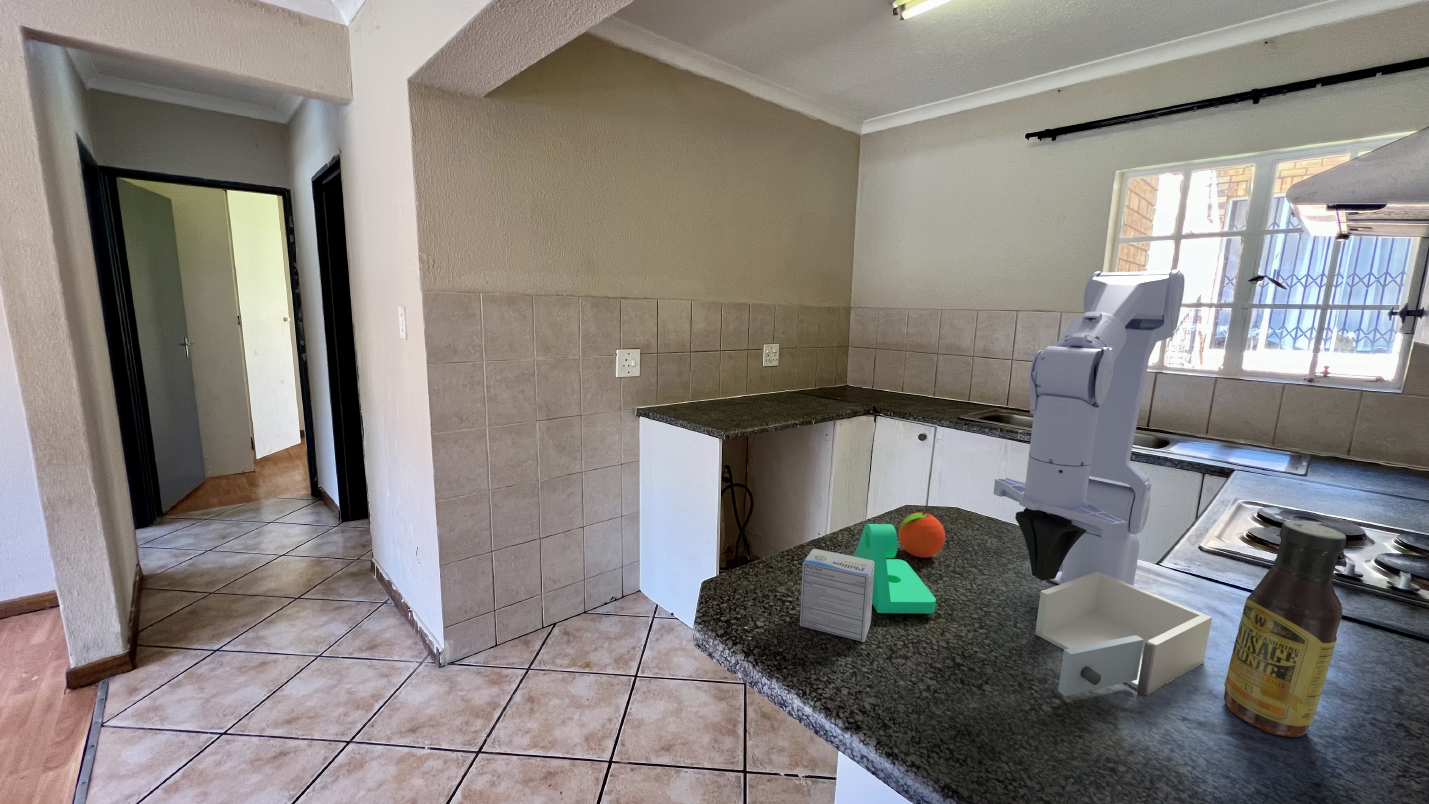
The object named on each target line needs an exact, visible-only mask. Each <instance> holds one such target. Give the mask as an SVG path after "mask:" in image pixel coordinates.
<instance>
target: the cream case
mask: <svg viewBox="0 0 1429 804" xmlns="http://www.w3.org/2000/svg"><path fill="white" fill-rule="evenodd" d="M1039 596H1040V597H1039V603H1038V608H1037V609H1038V610H1037V618H1036V624H1035V632H1034V634H1035V635H1036V636H1038V637H1040V638H1041V639H1044V640H1046V641H1047V642H1049V643H1051V644H1053V645H1054V646H1056V647H1058V648H1060V649H1062V650H1064V649H1069V648H1074V647H1079V646H1084V645H1089V644H1094V643H1099V642H1104V641H1109V640H1114V639H1119V638H1124V637H1129V636H1134V635H1137V636H1139V637H1140V638H1142V639H1144V642H1143V648H1142V654H1141V660H1140V666H1139V671H1138V677H1137V680H1134V681H1130V682H1126V683H1125V684H1127V683H1128V684H1127V685H1129V684H1130V685H1131V687H1132V686H1133V687H1132V688H1134V689H1136V693H1137V694H1138V695H1139V696H1145V695H1147V696H1148V695H1150V694H1152V693H1153V692H1155V691H1157V690H1159V689H1160V688H1162V687H1164V686H1165V685H1164V684H1166V683H1167V682H1169V681H1171V680H1173V679H1174V680H1176V679H1178V678H1179V677H1178V676H1180V675H1181V676H1183V675H1185V674H1186V672H1187V671H1188V672H1190V671H1192V670H1194V669H1195V668H1197V667H1199V666H1201V665H1202V664H1204V663H1205V658H1206V657H1205V656H1206V651H1207V647H1208V641H1209V634H1210V631H1211V627H1212V626H1211V625H1212V619H1213V617H1212V616H1210V615H1208V614H1205V613H1203V612H1200V611H1198V610H1195V609H1193V608H1190V607H1188V606H1185V605H1183V604H1181V603H1177V602H1176V601H1172V600H1170V599H1167V598H1164V597H1162V596H1159V595H1158V594H1155V593H1152V592H1150V591H1148V590H1145V589H1143V588H1141V589H1140V588H1138V587H1135V586H1133V585H1130V584H1128V583H1125V582H1123V581H1120V580H1118V579H1115V578H1113V577H1110V576H1108V575H1105V574H1103V573H1100V572H1098V571H1097V572H1094V573H1091V574H1089V575H1086V576H1083V577H1080V578H1077V579H1074V580H1072V581H1069V582H1066V583H1063V584H1058V585H1055V586H1051V587H1050V588H1049V587H1048V588H1046V589H1044V590H1040V594H1039ZM1200 664H1201V665H1200ZM1196 666H1197V667H1196ZM1193 668H1194V669H1193ZM1191 669H1192V670H1191ZM1189 670H1190V671H1189ZM1188 672H1187V673H1188ZM1184 673H1185V674H1184ZM1181 676H1180V677H1181ZM1177 677H1178V678H1177ZM1175 678H1176V679H1175ZM1174 680H1173V681H1174ZM1171 682H1172V681H1171ZM1169 683H1170V682H1169ZM1167 684H1168V683H1167ZM1167 684H1166V685H1167ZM1130 685H1129V686H1130ZM1163 685H1164V686H1163ZM1161 686H1162V687H1161ZM1159 687H1160V688H1159ZM1158 688H1159V689H1158ZM1156 689H1157V690H1156ZM1151 692H1152V693H1151Z"/></svg>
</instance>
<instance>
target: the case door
mask: <svg viewBox="0 0 1429 804" xmlns="http://www.w3.org/2000/svg"><path fill="white" fill-rule="evenodd" d="M1143 642H1144V639H1142V638H1140V637H1139V636H1137V635H1134V636H1129V637H1124V638H1119V639H1114V640H1109V641H1104V642H1099V643H1094V644H1089V645H1084V646H1079V647H1074V648H1069V649H1063V653H1062V662H1061V667H1060V668H1061V669H1060V675H1059V682H1058V689H1057V691H1058V692H1059V693H1060V694H1061V695H1063V696H1064V697H1068V696H1073V695H1076V694H1082V693H1085V692H1090V691H1094V690H1098V689H1104V688H1107V687H1112V686H1117V685H1121V684H1124V683H1125V682H1130V681H1134V680H1137V677H1138V671H1139V666H1140V660H1141V654H1142V648H1143ZM1125 684H1126V683H1125Z"/></svg>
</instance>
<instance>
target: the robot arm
mask: <svg viewBox="0 0 1429 804" xmlns="http://www.w3.org/2000/svg"><path fill="white" fill-rule="evenodd" d="M1184 291H1185V275H1184V274H1183V273H1182V272H1181V270H1180V269H1172V270H1167V271H1166V270H1165V271H1134V272H1133V271H1123V272H1122V271H1121V272H1119V271H1118V272H1102V271H1095V272H1093V273H1092V274H1091V275H1090V276H1089V277H1088V279H1087V281H1086V284H1085V287H1084V293H1083V301H1082V302H1083V303H1082V305H1083V312H1084V314H1081V315H1079V316H1077V317H1076V318H1075V319H1073V320H1072V322H1071V323H1070V324H1069V325H1068V327H1067V328H1066V330H1065V331H1064V332H1063V334H1062V335H1061V337H1060V338H1059V340H1058V341H1057V342H1056V344H1055V345H1053V346H1052V345H1049V346H1046V347H1045V349H1044V350H1042V349H1041V350H1037V352H1036V353H1035V355H1034V357H1033V359H1032V362H1031V366H1030V371H1029V377H1028V378H1029V379H1028V384H1029V385H1028V387H1029V394H1030V402H1029V414H1032V415H1033V419H1032V427H1031V434H1030V435H1031V436H1030V444H1029V453H1028V459H1027V468H1026V474H1025V475H1026V476H1025V482H1024V481H1019V480H1016V479H1013V478H1009V477H1001V478H995V479H994V484H993V485H994V486H993V495H995V496H997V497H1000V498H1001V497H1005V498H1008V499H1010V500H1012V501H1015V502H1016V503H1017V502H1018V505H1019V506H1021V507H1023V510H1021V511H1017V512H1015V521H1016V523H1017V524H1018V526H1019V528H1020V531H1021V532H1022V535H1023V538H1024V541H1025V545H1026V548H1027V552H1028V557H1029V563H1030V570H1031V575H1032V576H1033V577H1034V578H1036V579H1038V580H1040V581H1043V582H1044V581H1048V580H1049V581H1051V582H1053V583H1055V584H1058V585H1060V584H1063V583H1066V582H1069V581H1072V580H1074V579H1077V578H1080V577H1083V576H1086V575H1089V574H1091V573H1094V572H1097V571H1098V572H1100V573H1103V574H1105V575H1108V576H1110V577H1113V578H1115V579H1118V580H1120V581H1123V582H1125V583H1128V584H1130V585H1133V586H1135V587H1138V588H1140V589H1142V587H1141V585H1139V584H1136V583H1135V577H1136V571H1137V565H1138V559H1139V555H1140V554H1139V553H1140V546H1141V545H1140V542H1139V538H1138V534H1139V533H1141V532H1143V531H1144V529H1145V527H1146V523H1147V519H1148V517H1149V512H1150V506H1151V505H1150V504H1151V489H1152V483H1151V480H1150V478H1149V477H1148V475H1146V473H1143V471H1141V470H1140V469H1139V468H1138V467H1137V466H1136V465H1135V464H1133V463H1132V461H1131V457H1132V451H1133V445H1134V441H1135V437H1136V435H1135V434H1136V432H1137V431H1136V430H1137V425H1138V419H1139V413H1140V410H1141V409H1140V408H1141V404H1142V403H1141V402H1142V398H1143V393H1144V387H1145V383H1146V382H1145V381H1146V378H1147V377H1146V376H1147V373H1148V366H1149V361H1150V358H1151V356H1152V353H1153V352H1154V349H1155V347H1156V344H1157V343H1158V342H1162V341H1164V340H1167V339H1170V338H1173V337H1174V333H1175V330H1177V327H1178V323H1179V318H1180V313H1181V309H1182V308H1181V307H1182V304H1183V298H1184V294H1185V293H1184ZM1090 477H1093V478H1097V479H1098V478H1099V479H1103V480H1108V481H1112V482H1108V481H1103V480H1097V479H1093V478H1090ZM1113 482H1116V483H1113ZM1117 482H1119V483H1122V484H1117ZM1123 484H1126V485H1123ZM1127 485H1128V486H1127ZM1061 567H1062V568H1061ZM1060 568H1061V571H1060Z"/></svg>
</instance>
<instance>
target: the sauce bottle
mask: <svg viewBox="0 0 1429 804" xmlns="http://www.w3.org/2000/svg"><path fill="white" fill-rule="evenodd" d="M1279 537H1280V543H1279V547H1278V550H1277V555H1276V558H1275V559H1274V563H1273V565H1271V567H1270V569H1269V570H1268V571H1267V572H1266V574H1265V575H1264V576H1263V578H1262V579H1261V580H1260V581H1259V583H1258V584H1257V585H1256V586H1255V588H1254V589H1253V590H1252V592H1251V593H1250V594H1249V595H1248V596H1247V597H1246V599H1245V602H1244V606H1243V609H1242V615H1241V618H1240V622H1239V624H1238V630H1237V633H1236V634H1237V635H1236V637H1235V640H1234V643H1233V650H1232V654H1231V656H1230V657H1231V658H1230V662H1229V665H1228V670H1227V672H1226V673H1227V674H1226V678H1225V681H1224V685H1223V686H1224V694H1223V701H1224V703H1225V705H1226V706H1227V708H1228V709H1229V710H1230V711H1231V712H1232V713H1233V714H1234V715H1236V717H1237V718H1239V719H1241V720H1243V721H1244V722H1246V723H1249V724H1250V725H1251V726H1254V727H1255V728H1258V729H1259V730H1261V731H1263V732H1266V733H1268V734H1271V735H1276V736H1282V737H1287V738H1288V737H1289V738H1296V737H1302V736H1304V735H1305V734H1306V733H1307V732H1308V730H1309V727H1310V725H1312V724H1313V721H1314V720H1315V717H1316V716H1315V715H1316V712H1317V709H1318V706H1319V702H1320V698H1321V696H1322V695H1321V694H1322V692H1323V688H1324V686H1325V683H1326V679H1327V675H1328V672H1329V668H1330V666H1331V665H1330V664H1331V661H1332V658H1333V653H1334V651H1335V647H1336V644H1337V641H1338V640H1337V639H1338V637H1337V633H1338V629H1339V628H1340V624H1341V621H1342V619H1343V605H1342V603H1341V600H1340V598H1339V596H1338V594H1337V593H1336V591H1335V588H1334V584H1333V580H1334V579H1335V576H1336V575H1335V574H1334V572H1335V570H1336V565H1337V561H1338V558H1339V555H1340V554H1341V553H1342V552H1343V551H1344V550H1345V546H1346V542H1347V536H1346V535H1345V534H1344V533H1342V532H1341V531H1339V530H1337V529H1334V528H1331V527H1327V526H1326V525H1321V524H1318V523H1313V522H1307V521H1302V520H1286V521H1283V523H1282V525H1281V528H1280V531H1279Z"/></svg>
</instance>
